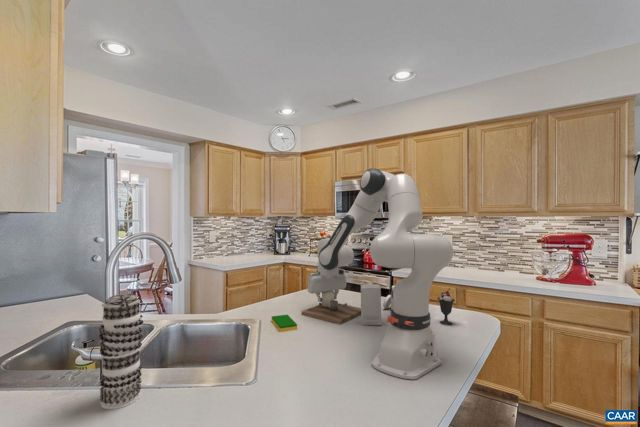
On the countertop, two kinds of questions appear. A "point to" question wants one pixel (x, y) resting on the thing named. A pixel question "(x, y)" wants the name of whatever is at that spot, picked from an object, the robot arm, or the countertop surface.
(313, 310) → the wooden cutting board
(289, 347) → the countertop surface
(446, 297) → the sundae
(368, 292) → the skincare box
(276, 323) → the dish sponge
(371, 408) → the countertop surface
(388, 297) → the spread jar
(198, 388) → the countertop surface
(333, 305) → the lever
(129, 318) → the decorative candle
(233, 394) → the countertop surface
